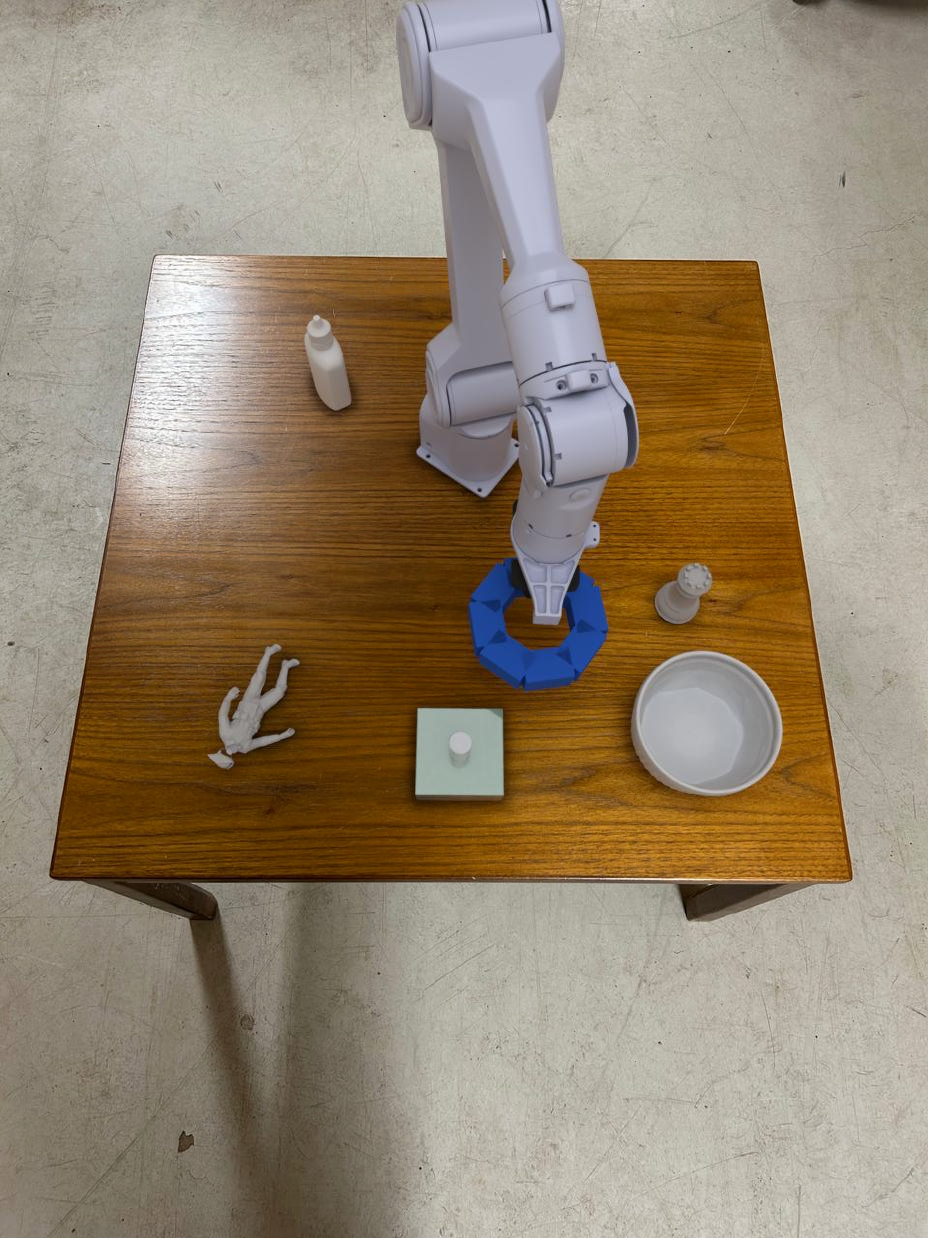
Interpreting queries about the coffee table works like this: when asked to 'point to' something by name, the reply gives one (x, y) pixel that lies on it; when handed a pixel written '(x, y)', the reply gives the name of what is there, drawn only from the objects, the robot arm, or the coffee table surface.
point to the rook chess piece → (683, 594)
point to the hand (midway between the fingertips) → (536, 576)
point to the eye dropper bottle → (327, 364)
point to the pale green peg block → (459, 754)
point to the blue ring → (538, 664)
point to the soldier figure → (251, 712)
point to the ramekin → (706, 724)
